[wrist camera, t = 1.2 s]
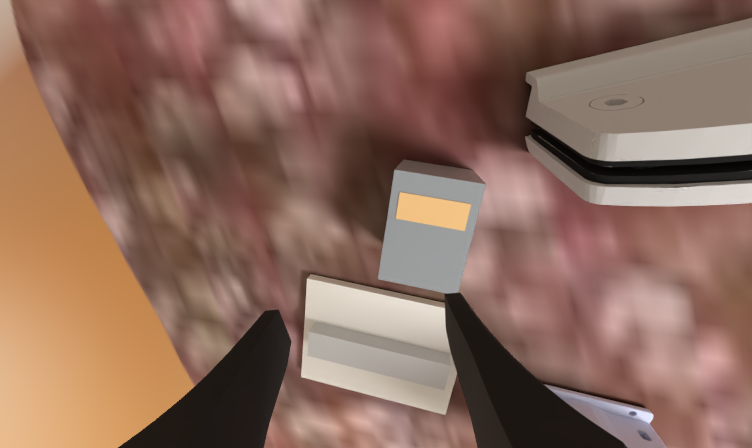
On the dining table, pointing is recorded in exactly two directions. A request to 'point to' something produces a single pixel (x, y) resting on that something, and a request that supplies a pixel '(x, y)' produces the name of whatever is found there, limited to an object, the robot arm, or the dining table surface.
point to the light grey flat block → (651, 121)
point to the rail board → (377, 343)
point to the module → (430, 225)
